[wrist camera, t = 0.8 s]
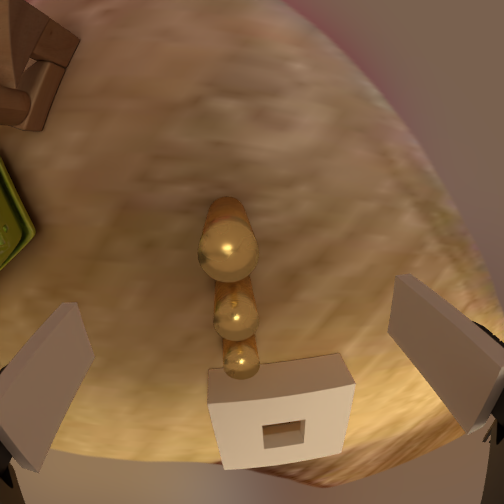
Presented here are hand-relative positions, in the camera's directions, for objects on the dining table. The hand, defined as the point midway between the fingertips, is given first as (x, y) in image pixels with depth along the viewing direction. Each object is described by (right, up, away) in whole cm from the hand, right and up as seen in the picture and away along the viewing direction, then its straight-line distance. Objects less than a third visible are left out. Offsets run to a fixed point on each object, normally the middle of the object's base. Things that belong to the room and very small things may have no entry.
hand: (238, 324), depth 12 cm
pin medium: (-1, 0, +20) cm, 20 cm away
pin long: (-2, +6, +18) cm, 19 cm away
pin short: (-1, -7, +22) cm, 23 cm away
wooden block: (-21, +21, +12) cm, 32 cm away
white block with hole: (+4, -17, +26) cm, 31 cm away
